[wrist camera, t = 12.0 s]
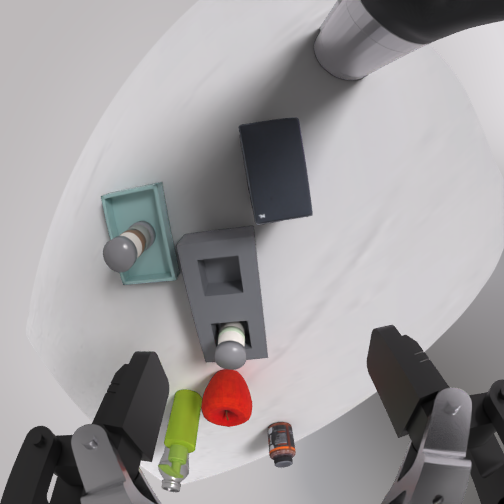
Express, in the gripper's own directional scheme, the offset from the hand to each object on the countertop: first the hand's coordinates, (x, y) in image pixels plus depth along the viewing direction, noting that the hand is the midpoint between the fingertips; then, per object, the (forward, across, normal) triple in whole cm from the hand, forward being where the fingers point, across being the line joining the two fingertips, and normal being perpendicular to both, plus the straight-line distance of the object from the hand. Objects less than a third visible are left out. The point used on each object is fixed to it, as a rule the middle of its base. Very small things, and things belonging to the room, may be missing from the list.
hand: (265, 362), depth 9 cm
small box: (+30, -3, -5) cm, 31 cm away
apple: (+30, +8, +32) cm, 45 cm away
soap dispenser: (+30, +18, +38) cm, 52 cm away
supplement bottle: (+30, -1, +53) cm, 61 cm away
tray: (+30, +16, +2) cm, 34 cm away
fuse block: (+30, +5, +13) cm, 33 cm away
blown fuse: (+30, +16, +2) cm, 34 cm away
